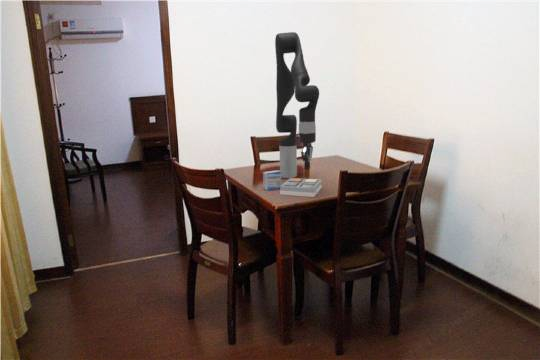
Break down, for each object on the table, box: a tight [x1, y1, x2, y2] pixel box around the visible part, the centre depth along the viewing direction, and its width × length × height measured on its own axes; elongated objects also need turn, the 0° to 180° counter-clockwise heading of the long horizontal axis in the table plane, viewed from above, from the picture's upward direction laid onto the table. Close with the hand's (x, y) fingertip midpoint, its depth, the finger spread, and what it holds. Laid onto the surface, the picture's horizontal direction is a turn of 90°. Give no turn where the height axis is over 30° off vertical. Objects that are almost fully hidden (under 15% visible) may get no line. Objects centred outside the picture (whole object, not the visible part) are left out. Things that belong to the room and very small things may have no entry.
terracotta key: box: [290, 177, 303, 183], centre depth 195 cm, size 5×5×2 cm
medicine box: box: [262, 169, 282, 192], centre depth 196 cm, size 8×4×9 cm, turn 114°
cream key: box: [305, 178, 318, 183], centre depth 192 cm, size 5×5×2 cm
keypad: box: [279, 178, 323, 198], centre depth 191 cm, size 16×16×4 cm
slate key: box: [285, 182, 298, 187], centre depth 188 cm, size 5×5×2 cm
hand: (307, 169), depth 184 cm, fingers closed
